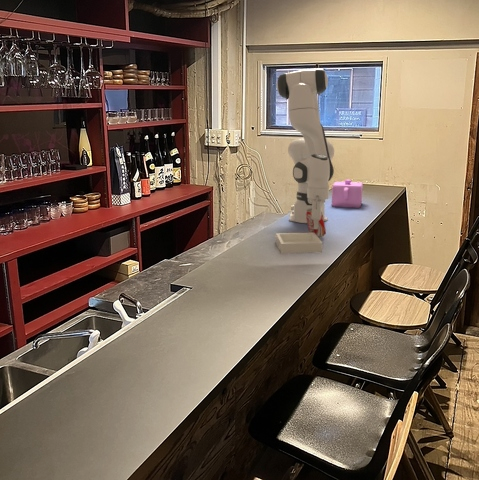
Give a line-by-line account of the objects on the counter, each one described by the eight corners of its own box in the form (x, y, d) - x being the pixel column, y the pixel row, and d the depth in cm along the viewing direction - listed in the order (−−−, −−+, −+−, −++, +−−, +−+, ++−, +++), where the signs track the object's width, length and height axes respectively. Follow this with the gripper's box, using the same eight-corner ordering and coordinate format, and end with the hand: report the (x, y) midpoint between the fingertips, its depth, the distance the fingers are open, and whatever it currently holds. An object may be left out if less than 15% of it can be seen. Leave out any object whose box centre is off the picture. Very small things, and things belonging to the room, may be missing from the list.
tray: (275, 242, 220) (275, 233, 219) (313, 241, 221) (314, 232, 220) (281, 253, 205) (281, 243, 204) (322, 252, 206) (322, 242, 205)
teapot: (362, 201, 306) (363, 176, 302) (359, 209, 283) (360, 183, 279) (335, 199, 310) (336, 175, 307) (330, 208, 287) (331, 182, 283)
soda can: (326, 237, 222) (321, 209, 219) (309, 239, 224) (304, 212, 221) (326, 233, 229) (321, 206, 226) (310, 235, 230) (305, 209, 228)
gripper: (324, 198, 211) (323, 232, 214) (326, 190, 230) (324, 221, 234) (308, 197, 212) (307, 231, 215) (311, 189, 231) (310, 221, 235)
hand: (316, 226), depth 225 cm, fingers open, 8 cm apart
